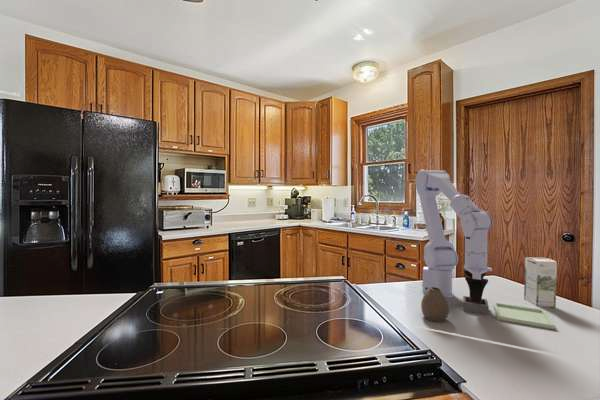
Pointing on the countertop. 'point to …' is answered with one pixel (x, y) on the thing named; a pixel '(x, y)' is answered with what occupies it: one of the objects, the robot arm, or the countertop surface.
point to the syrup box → (540, 281)
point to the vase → (435, 305)
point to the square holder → (475, 306)
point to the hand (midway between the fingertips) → (475, 297)
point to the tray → (523, 315)
